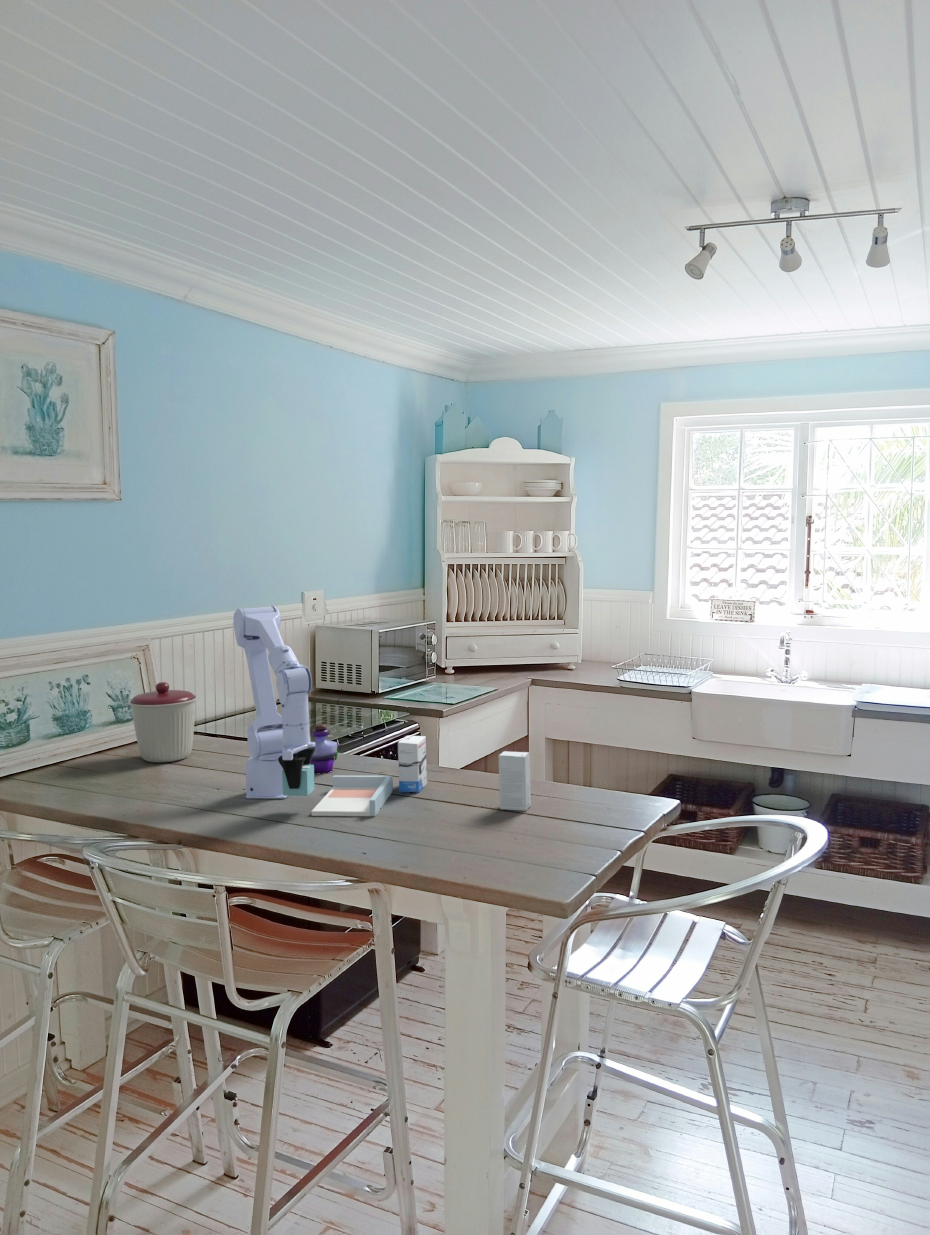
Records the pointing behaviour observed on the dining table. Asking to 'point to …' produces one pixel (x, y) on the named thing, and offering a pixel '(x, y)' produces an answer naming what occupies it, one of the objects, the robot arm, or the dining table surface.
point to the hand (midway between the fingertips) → (298, 784)
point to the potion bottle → (323, 750)
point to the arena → (355, 796)
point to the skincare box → (514, 780)
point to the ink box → (412, 763)
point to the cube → (305, 783)
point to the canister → (164, 723)
